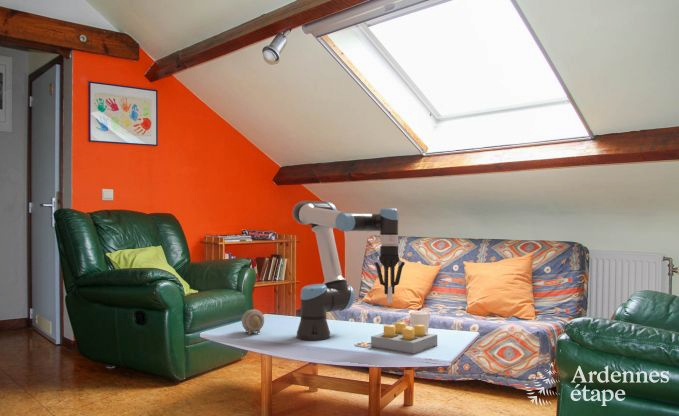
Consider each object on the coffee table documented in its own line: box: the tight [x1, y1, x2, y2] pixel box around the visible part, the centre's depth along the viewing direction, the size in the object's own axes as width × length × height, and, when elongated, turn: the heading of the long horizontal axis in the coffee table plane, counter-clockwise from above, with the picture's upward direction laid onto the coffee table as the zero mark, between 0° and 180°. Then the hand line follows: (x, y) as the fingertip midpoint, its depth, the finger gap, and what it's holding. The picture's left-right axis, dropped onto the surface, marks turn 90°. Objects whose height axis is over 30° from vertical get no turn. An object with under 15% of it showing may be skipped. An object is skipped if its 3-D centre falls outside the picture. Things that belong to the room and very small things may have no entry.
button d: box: [413, 325, 425, 337], centre depth 218 cm, size 5×5×5 cm
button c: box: [394, 321, 407, 334], centre depth 223 cm, size 5×5×5 cm
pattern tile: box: [354, 341, 371, 349], centre depth 218 cm, size 6×6×1 cm
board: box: [370, 332, 438, 355], centre depth 217 cm, size 20×20×4 cm
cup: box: [408, 310, 432, 334], centre depth 236 cm, size 10×10×11 cm
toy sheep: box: [241, 308, 265, 335], centre depth 245 cm, size 11×17×11 cm, turn 24°
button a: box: [383, 324, 395, 338], centre depth 216 cm, size 5×5×5 cm
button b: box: [402, 327, 414, 341], centre depth 211 cm, size 5×5×5 cm
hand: (389, 302), depth 217 cm, fingers closed
